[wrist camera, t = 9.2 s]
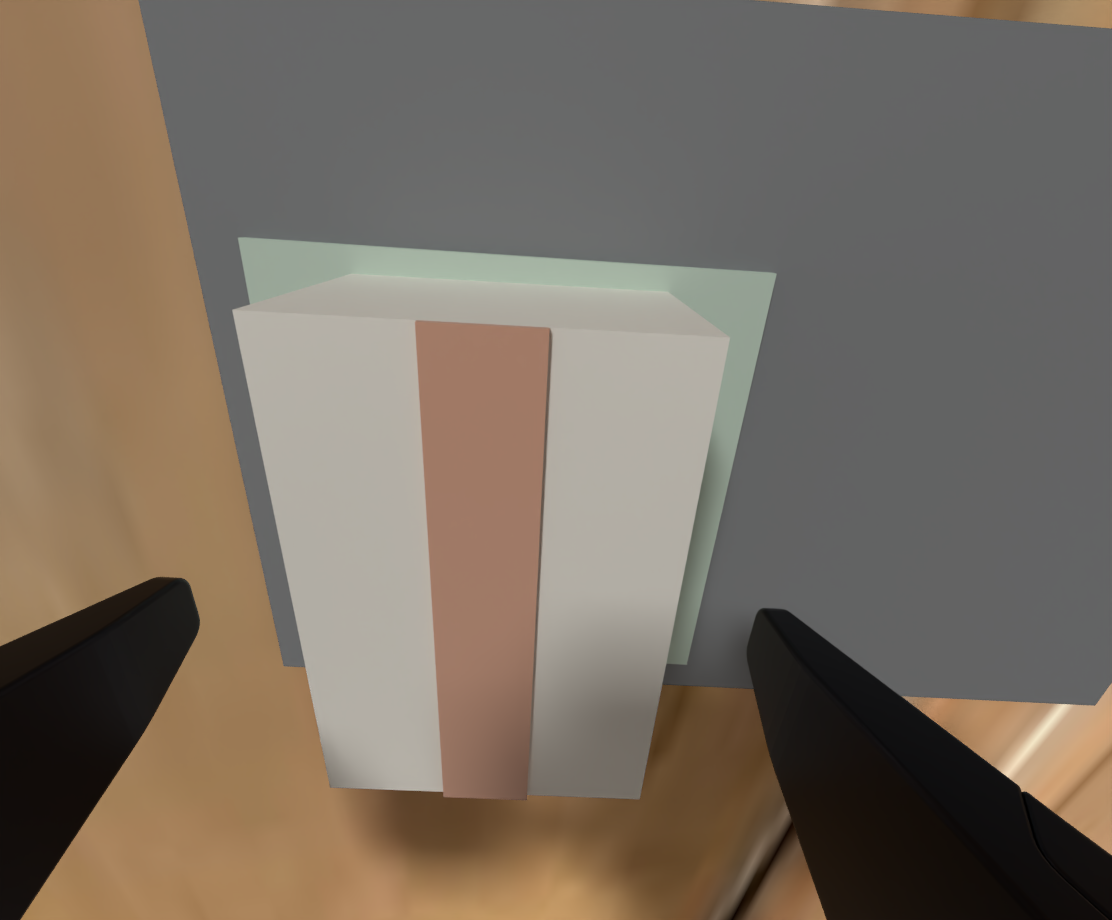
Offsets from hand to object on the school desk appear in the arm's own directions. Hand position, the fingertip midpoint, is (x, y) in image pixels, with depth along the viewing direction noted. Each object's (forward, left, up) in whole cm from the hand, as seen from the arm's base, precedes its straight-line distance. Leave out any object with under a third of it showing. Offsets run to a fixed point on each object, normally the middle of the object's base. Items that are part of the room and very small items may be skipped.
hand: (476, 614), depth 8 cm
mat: (-6, -2, -4) cm, 7 cm away
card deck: (0, 0, -4) cm, 4 cm away
